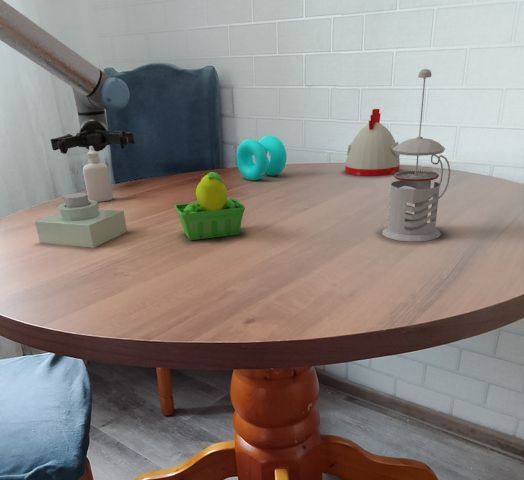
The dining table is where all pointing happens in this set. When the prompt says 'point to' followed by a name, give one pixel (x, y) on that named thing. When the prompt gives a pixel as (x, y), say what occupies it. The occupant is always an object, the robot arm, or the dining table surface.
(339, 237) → the dining table surface
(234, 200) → the fruit basket
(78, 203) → the grayish pink short cylinder
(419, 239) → the french press
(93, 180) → the eye dropper bottle
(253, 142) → the donuts
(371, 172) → the kitchen timer
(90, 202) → the push button box
